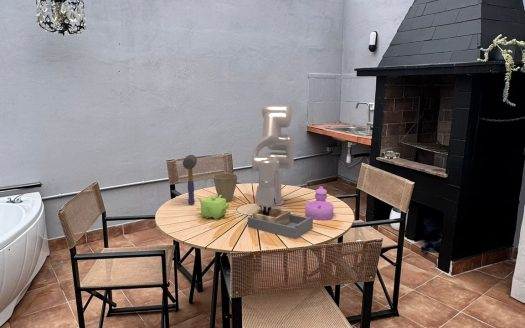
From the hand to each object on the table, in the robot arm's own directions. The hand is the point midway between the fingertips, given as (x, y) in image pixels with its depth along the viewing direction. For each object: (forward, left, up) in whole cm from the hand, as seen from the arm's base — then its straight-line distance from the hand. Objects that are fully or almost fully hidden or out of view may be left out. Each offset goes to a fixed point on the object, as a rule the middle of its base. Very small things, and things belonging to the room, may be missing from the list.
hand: (266, 218), depth 195 cm
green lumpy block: (-31, -6, -4) cm, 31 cm away
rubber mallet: (-57, +3, -3) cm, 57 cm away
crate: (+3, 0, -2) cm, 4 cm away
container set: (+15, +33, -4) cm, 36 cm away
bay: (+8, 0, -3) cm, 9 cm away
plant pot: (-45, +21, -3) cm, 49 cm away
